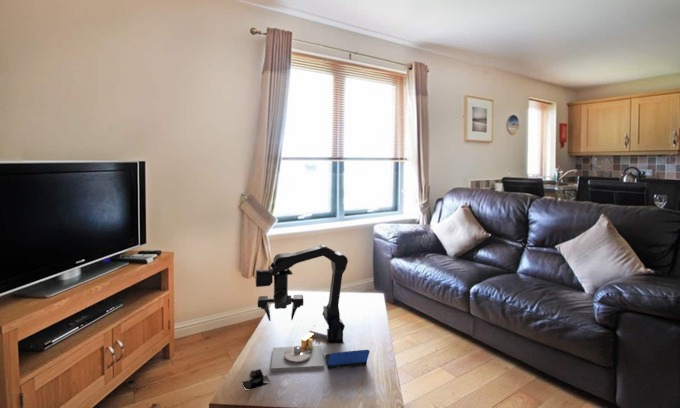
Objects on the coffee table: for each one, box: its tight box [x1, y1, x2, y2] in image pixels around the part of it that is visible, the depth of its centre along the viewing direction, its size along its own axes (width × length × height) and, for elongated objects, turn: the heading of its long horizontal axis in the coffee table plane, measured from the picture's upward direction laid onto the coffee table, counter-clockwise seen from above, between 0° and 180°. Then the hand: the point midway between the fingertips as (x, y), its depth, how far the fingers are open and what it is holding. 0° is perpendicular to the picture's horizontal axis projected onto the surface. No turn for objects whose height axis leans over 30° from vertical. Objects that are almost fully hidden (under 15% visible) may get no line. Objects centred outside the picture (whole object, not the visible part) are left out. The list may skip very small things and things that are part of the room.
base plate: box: [270, 339, 325, 373], centre depth 146 cm, size 20×15×6 cm
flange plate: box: [284, 332, 315, 363], centre depth 148 cm, size 14×14×5 cm
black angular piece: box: [241, 368, 272, 390], centre depth 131 cm, size 12×7×5 cm, turn 118°
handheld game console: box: [324, 349, 370, 370], centre depth 144 cm, size 16×13×9 cm
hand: (280, 320), depth 154 cm, fingers open, 9 cm apart
